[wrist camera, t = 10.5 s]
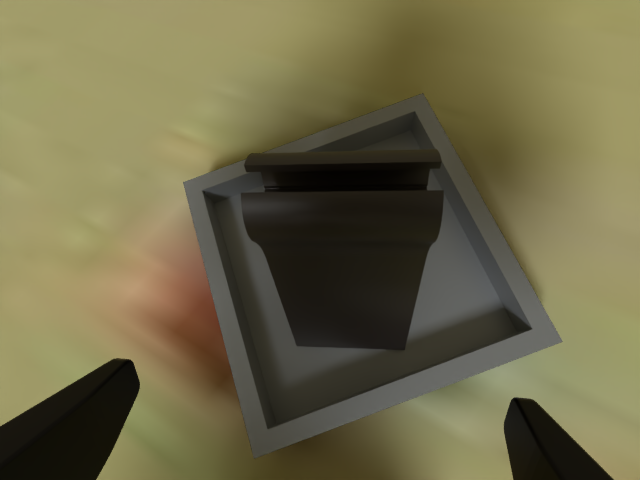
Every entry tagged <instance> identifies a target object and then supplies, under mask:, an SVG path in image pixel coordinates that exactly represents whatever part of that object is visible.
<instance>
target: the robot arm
mask: <svg viewBox="0 0 640 480" xmlns="http://www.w3.org/2000/svg"><path fill="white" fill-rule="evenodd" d="M139 388H140V382H139V379H138V376H137V372H136V369H135V366H134V363H133V362H132V361H131V360H129V359H120V358H116V359H113V360H111V361H109V362H107V363H106V364H104V365H102V366H101V367H99V368H97V369H96V370H94V371H92V372H91V373H89V374H87V375H86V376H84V377H82V378H81V379H79V380H77V381H76V382H74V383H72V384H71V385H69V386H67V387H66V388H64V389H62V390H60V391H59V392H57V393H55V394H54V395H52V396H50V397H49V398H47V399H45V400H44V401H42V402H40V403H39V404H37V405H35V406H34V407H32V408H30V409H29V410H27V411H25V412H24V413H22V414H20V415H19V416H17V417H15V418H14V419H12V420H10V421H9V422H7V423H5V424H4V425H2V426H0V480H96V479H97V477H98V475H99V474H100V472H101V470H102V468H103V467H104V465H105V463H106V461H107V459H108V457H109V456H110V454H111V452H112V450H113V448H114V445H115V443H116V441H117V439H118V437H119V435H120V432H121V430H122V428H123V426H124V423H125V421H126V419H127V417H128V415H129V412H130V410H131V408H132V406H133V403H134V401H135V399H136V397H137V395H138V392H139ZM504 434H505V439H506V444H507V449H508V454H509V459H510V465H511V470H512V475H513V480H614V479H613V478H612V477H611V476H610V475H609V474H608V473H607V472H606V471H605V470H604V469H603V468H602V467H601V466H600V465H599V464H598V463H597V462H596V461H595V460H594V459H593V458H592V457H591V456H590V455H589V454H588V453H587V452H586V451H585V450H584V449H583V448H582V447H581V446H580V445H579V444H578V443H577V442H576V441H575V440H574V439H573V438H572V437H571V436H570V435H569V434H568V433H567V432H566V431H565V430H564V429H563V428H562V427H561V426H560V425H559V424H558V423H557V422H556V421H555V420H554V419H553V418H552V417H551V416H550V415H549V414H548V413H547V412H546V411H545V410H544V409H543V408H542V407H541V406H540V405H539V404H538V403H537V402H535V401H534V400H532V399H527V398H517V397H516V398H513V399H512V400H511V402H510V405H509V408H508V412H507V415H506V418H505V421H504Z"/></svg>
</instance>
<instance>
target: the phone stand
mask: <svg viewBox="0 0 640 480" xmlns="http://www.w3.org/2000/svg"><path fill="white" fill-rule="evenodd" d="M441 163H442V160H441V156H440V153H439V151H438V150H437V149H418V150H377V151H335V152H293V153H252V154H250V155H249V156H248V157H247V159H246V161H245V164H244V167H245V170H246V172H261V175H262V180H263V185H264V188H265V191H264V192H247V193H241V207H242V215H243V221H244V225H245V229H246V232H247V234H248V236H249V238H250V239H251V240H252V241H253V242H255V243H257V244H258V245H259V246H260V247H261V249H262V251H263V253H264V255H265V257H266V260H267V263H268V266H269V269H270V271H271V274H272V277H273V280H274V283H275V286H276V289H277V291H278V294H279V297H280V300H281V303H282V306H283V309H284V311H285V314H286V317H287V320H288V323H289V326H290V328H291V331H292V334H293V337H294V340H295V343H296V346H301V347H329V348H357V349H385V350H405V346H406V342H407V338H408V334H409V329H410V325H411V321H412V317H413V312H414V308H415V304H416V300H417V296H418V291H419V287H420V283H421V279H422V274H423V270H424V266H425V262H426V258H427V254H428V251H429V249H430V247H431V245H432V244H433V243H435V242H436V240H437V238H438V235H439V232H440V227H441V222H442V214H443V200H444V190H427V185H428V179H429V172H430V169H440V167H441Z"/></svg>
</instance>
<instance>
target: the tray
mask: <svg viewBox="0 0 640 480" xmlns="http://www.w3.org/2000/svg"><path fill="white" fill-rule="evenodd" d="M418 149H437V150H438V151H439V153H440V156H441V160H442V163H441V167H440V169H430V172H429V179H428V185H427V190H444V200H443V214H442V222H441V227H440V232H439V235H438V238H437V240H436V242H435V243H433V244H432V245H431V247H430V249H429V251H428V254H427V258H426V262H425V266H424V270H423V274H422V279H421V283H420V287H419V291H418V296H417V300H416V304H415V308H414V312H413V317H412V321H411V325H410V329H409V334H408V338H407V342H406V346H405V350H385V349H357V348H329V347H301V346H296V343H295V340H294V337H293V334H292V331H291V328H290V326H289V323H288V320H287V317H286V314H285V311H284V309H283V306H282V303H281V300H280V297H279V294H278V291H277V289H276V286H275V283H274V280H273V277H272V274H271V271H270V269H269V266H268V263H267V260H266V257H265V255H264V253H263V251H262V249H261V247H260V246H259V245H258V244H257V243H255V242H253V241H252V240H251V239H250V238H249V236H248V234H247V232H246V229H245V225H244V221H243V215H242V207H241V193H247V192H264V191H265V188H264V185H263V180H262V175H261V172H246V170H245V167H244V164H245V161H246V159H245V160H242V161H239V162H236V163H234V164H231V165H228V166H226V167H223V168H220V169H218V170H215V171H212V172H210V173H207V174H204V175H201V176H199V177H196V178H193V179H191V180H188V181H185V182H183V184H184V188H185V192H186V196H187V200H188V204H189V207H190V211H191V215H192V219H193V223H194V227H195V231H196V235H197V239H198V242H199V246H200V250H201V254H202V258H203V262H204V266H205V270H206V274H207V278H208V281H209V285H210V289H211V293H212V297H213V301H214V305H215V309H216V313H217V316H218V320H219V324H220V328H221V332H222V336H223V340H224V344H225V348H226V352H227V355H228V359H229V363H230V367H231V371H232V375H233V379H234V383H235V387H236V390H237V394H238V398H239V402H240V406H241V410H242V414H243V418H244V422H245V426H246V429H247V433H248V437H249V441H250V445H251V449H252V453H253V457H254V459H255V458H257V457H260V456H263V455H265V454H268V453H271V452H273V451H276V450H278V449H281V448H284V447H286V446H289V445H292V444H294V443H297V442H300V441H302V440H305V439H307V438H310V437H313V436H315V435H318V434H321V433H323V432H326V431H329V430H331V429H334V428H336V427H339V426H342V425H344V424H347V423H350V422H352V421H355V420H358V419H360V418H363V417H365V416H368V415H371V414H373V413H376V412H379V411H381V410H384V409H387V408H389V407H392V406H394V405H397V404H400V403H402V402H405V401H408V400H410V399H413V398H416V397H418V396H421V395H423V394H426V393H429V392H431V391H434V390H437V389H439V388H442V387H445V386H447V385H450V384H452V383H455V382H458V381H460V380H463V379H466V378H468V377H471V376H474V375H476V374H479V373H481V372H484V371H487V370H489V369H492V368H495V367H497V366H500V365H503V364H505V363H508V362H511V361H513V360H516V359H518V358H521V357H524V356H526V355H529V354H532V353H534V352H537V351H540V350H542V349H545V348H547V347H550V346H553V345H555V344H558V343H561V342H563V341H562V340H561V338H560V336H559V334H558V332H557V331H556V329H555V327H554V325H553V324H552V322H551V320H550V318H549V316H548V315H547V313H546V311H545V309H544V307H543V306H542V304H541V302H540V300H539V299H538V297H537V295H536V293H535V291H534V290H533V288H532V286H531V284H530V283H529V281H528V279H527V277H526V275H525V274H524V272H523V270H522V268H521V267H520V265H519V263H518V261H517V259H516V258H515V256H514V254H513V252H512V251H511V249H510V247H509V245H508V243H507V242H506V240H505V238H504V236H503V235H502V233H501V231H500V229H499V227H498V226H497V224H496V222H495V220H494V218H493V217H492V215H491V213H490V211H489V210H488V208H487V206H486V204H485V202H484V201H483V199H482V197H481V195H480V194H479V192H478V190H477V188H476V186H475V185H474V183H473V181H472V179H471V178H470V176H469V174H468V172H467V170H466V169H465V167H464V165H463V163H462V162H461V160H460V158H459V156H458V154H457V153H456V151H455V149H454V147H453V145H452V144H451V142H450V140H449V138H448V137H447V135H446V133H445V131H444V129H443V128H442V126H441V124H440V122H439V121H438V119H437V117H436V115H435V113H434V112H433V110H432V108H431V106H430V105H429V103H428V101H427V99H426V97H425V96H424V94H423V93H422V94H419V95H417V96H414V97H411V98H409V99H406V100H403V101H401V102H398V103H395V104H393V105H390V106H387V107H384V108H382V109H379V110H376V111H374V112H371V113H368V114H366V115H363V116H360V117H358V118H355V119H352V120H349V121H347V122H344V123H341V124H339V125H336V126H333V127H331V128H328V129H325V130H323V131H320V132H317V133H315V134H312V135H309V136H306V137H304V138H301V139H298V140H296V141H293V142H290V143H288V144H285V145H282V146H280V147H277V148H274V149H271V150H269V151H266V152H263V153H293V152H335V151H377V150H418Z"/></svg>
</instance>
